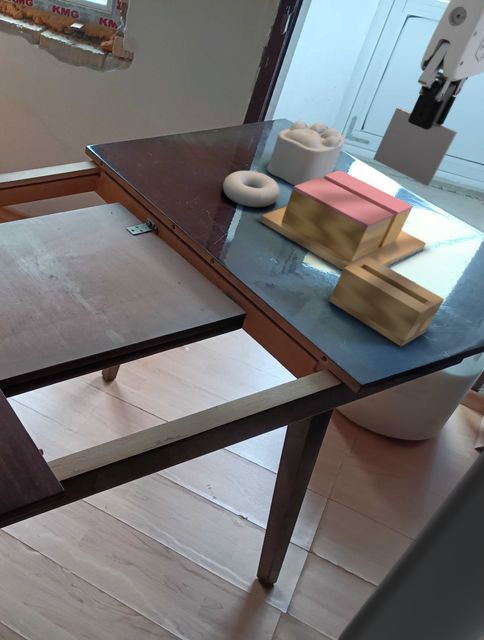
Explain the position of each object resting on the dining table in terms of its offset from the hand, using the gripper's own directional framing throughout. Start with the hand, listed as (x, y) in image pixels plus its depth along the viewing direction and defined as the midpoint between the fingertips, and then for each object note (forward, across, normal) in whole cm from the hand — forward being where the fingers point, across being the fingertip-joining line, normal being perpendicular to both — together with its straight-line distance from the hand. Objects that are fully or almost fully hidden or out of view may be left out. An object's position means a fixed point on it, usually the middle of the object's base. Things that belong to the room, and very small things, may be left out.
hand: (425, 122), depth 95 cm
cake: (+23, +4, +7) cm, 25 cm away
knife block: (+23, -11, -10) cm, 28 cm away
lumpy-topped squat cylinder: (+24, +18, +26) cm, 40 cm away
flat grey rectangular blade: (+8, 0, 0) cm, 8 cm away
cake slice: (+22, +7, +7) cm, 24 cm away
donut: (+24, 0, +24) cm, 34 cm away
